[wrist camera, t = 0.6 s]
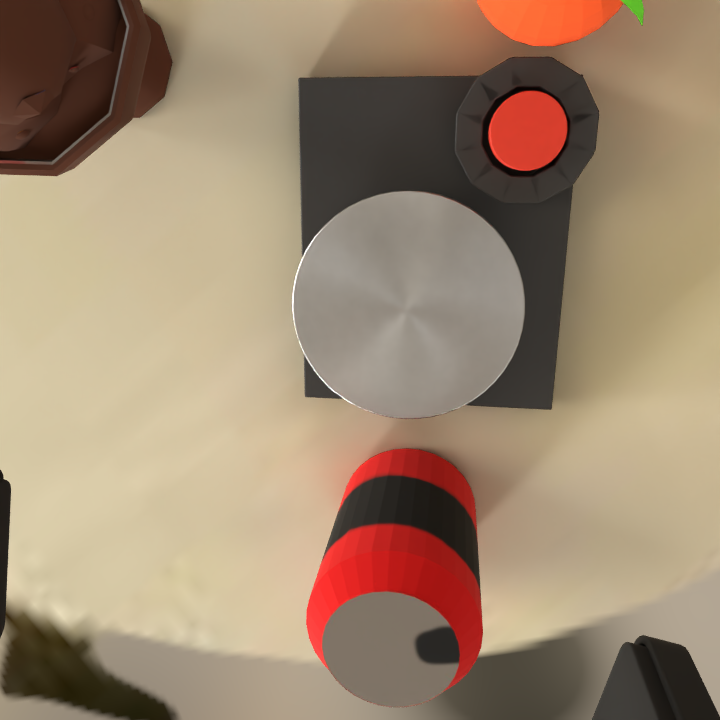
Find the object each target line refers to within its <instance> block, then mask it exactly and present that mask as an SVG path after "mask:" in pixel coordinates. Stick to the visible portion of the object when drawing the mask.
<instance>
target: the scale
mask: <svg viewBox="0 0 720 720" xmlns="http://www.w3.org/2000/svg"><path fill="white" fill-rule="evenodd" d="M298 81H299V131H300V180H301V229H302V257H303V255H304V253H305V251H306V249H307V248H308V246H309V244H310V243H311V241H312V240H313V238H314V237H315V236H316V234H317V233H318V232H319V231H320V230H321V229H322V227H323V226H324V225H325V224H326V223H327V222H329V221H330V220H331V219H332V218H333V217H334V216H335V215H337V214H338V213H340V212H341V211H343V210H344V209H345V208H347V207H348V206H350V205H352V204H354V203H356V202H358V201H360V200H363V199H365V198H368V197H371V196H374V195H377V194H380V193H386V192H391V191H400V190H417V191H427V192H432V193H436V194H441V195H444V196H446V197H449V198H452V199H455V200H457V201H459V202H461V203H463V204H465V205H466V206H468V207H470V208H471V209H473V210H474V211H476V212H477V213H478V214H480V215H481V216H483V217H484V218H485V219H486V220H487V221H488V222H489V223H490V224H491V225H492V226H493V227H494V228H495V229H496V230H497V232H498V233H499V234H500V235H501V237H502V238H503V239H504V241H505V242H506V244H507V246H508V247H509V249H510V251H511V252H512V254H513V256H514V258H515V261H516V263H517V265H518V268H519V271H520V275H521V278H522V282H523V288H524V295H525V317H524V324H523V330H522V333H521V337H520V340H519V344H518V346H517V348H516V351H515V353H514V355H513V357H512V359H511V361H510V362H509V364H508V366H507V367H506V369H505V371H504V372H503V373H502V374H501V375H500V377H499V378H498V379H497V380H496V382H495V383H494V384H493V385H491V386H490V387H489V388H488V389H487V390H486V391H485V392H484V393H483V394H481V395H480V396H478V397H477V398H476V399H474V400H473V401H471V402H469V403H468V404H466V405H470V406H489V407H509V408H528V409H547V410H551V409H552V400H553V389H554V379H555V368H556V358H557V347H558V337H559V326H560V315H561V305H562V294H563V284H564V273H565V263H566V252H567V241H568V231H569V220H570V210H571V199H572V189H573V184H574V183H575V181H576V180H577V178H578V177H579V175H580V174H581V172H582V171H583V169H584V168H585V166H586V165H587V163H588V162H589V160H590V159H591V158H592V156H593V155H594V152H595V149H596V139H597V129H598V120H599V110H598V108H597V106H596V104H595V102H594V99H593V97H592V95H591V93H590V91H589V89H588V86H587V84H586V82H585V80H584V78H583V75H579V74H578V73H576V72H574V71H573V70H571V69H570V68H568V67H567V66H565V65H563V64H562V63H560V62H559V61H557V60H555V59H554V58H552V57H512V58H509V59H507V60H506V61H504V62H502V63H501V64H499V65H497V66H496V67H494V68H492V69H491V70H489V71H488V72H486V73H484V74H483V75H481V76H418V77H326V78H299V79H298ZM524 91H539V92H543V93H546V94H548V95H550V96H551V97H553V98H554V99H555V100H556V101H557V102H558V103H559V104H560V105H561V107H562V109H563V110H564V113H565V115H566V119H567V136H566V140H565V143H564V145H563V147H562V149H561V151H560V152H559V154H558V155H557V156H556V157H555V158H554V159H553V160H552V161H551V162H550V163H548V164H547V165H545V166H543V167H541V168H538V169H535V170H528V171H523V170H516V169H512V168H509V167H507V166H505V165H503V164H502V163H501V162H500V161H499V160H498V159H497V158H496V157H495V156H494V154H493V152H492V150H491V148H490V145H489V140H488V130H489V125H490V121H491V119H492V117H493V115H494V113H495V112H496V110H497V109H498V108H499V106H500V105H501V104H502V103H503V102H504V101H505V100H507V99H508V98H509V97H511V96H513V95H515V94H517V93H520V92H524ZM304 377H305V397H316V398H335V399H343V398H342V397H340V396H339V395H338V394H336V393H335V392H334V391H333V390H332V389H331V388H329V387H328V386H327V385H326V384H325V383H324V382H323V381H322V379H321V378H320V377H319V376H318V375H317V374H316V372H315V371H314V369H313V368H312V367H311V365H310V364H309V362H308V360H307V358H306V356H305V354H304Z"/></svg>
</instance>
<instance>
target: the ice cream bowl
mask: <svg viewBox="0 0 720 720" xmlns="http://www.w3.org/2000/svg"><path fill="white" fill-rule="evenodd" d="M171 66H172V59H171V56H170V53H169V50H168V47H167V45H166V42H165V39H164V36H163V33H162V30H161V27H160V25H159V24H157V23H156V22H155V21H154V20H152V19H151V18H150V17H149V16H147V15H146V14H145V13H144V12H143V9H142V6H141V3H140V0H0V174H8V175H40V176H58V175H60V174H63V173H65V172H67V171H69V170H72V169H74V168H75V167H76V166H78V165H79V164H80V163H81V162H82V161H83V160H85V159H86V158H87V157H88V156H89V155H91V154H92V153H93V152H94V151H95V150H97V149H98V148H99V147H100V146H101V145H102V144H104V143H105V142H106V141H107V140H108V139H110V138H111V137H112V136H113V135H114V134H116V133H117V132H118V131H119V130H120V129H121V128H123V127H124V126H125V125H126V124H127V123H129V122H130V121H131V120H132V118H140V117H141V116H142V115H143V114H145V113H146V112H147V111H148V110H149V109H151V108H152V107H153V106H154V105H155V104H156V103H158V102H159V101H160V100H161V99H162V98H164V96H165V92H166V87H167V83H168V79H169V74H170V70H171Z"/></svg>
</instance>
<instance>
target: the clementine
mask: <svg viewBox="0 0 720 720" xmlns="http://www.w3.org/2000/svg"><path fill="white" fill-rule="evenodd" d="M477 2H478V4H479V6H480V9H481V11H482V12H483V13H484V15H485V16H486V17H487V18H488V20H489V21H490V22H491V23H492V24H493V26H494V27H495V28H496V29H498V30H499V31H500V32H502V33H503V34H505V35H506V36H508V37H509V38H511V39H512V40H515V41H518V42H521V43H524V44H528V45H531V46H557V45H561V44H565V43H569V42H573V41H577V40H579V39H581V38H583V37H585V36H587V35H588V34H590V33H592V32H594V31H596V30H597V29H599V28H600V27H601V26H602V25H604V24H605V23H606V22H607V21H608V20H609V19H610V18H611V17H612V16H613V15H614V14H616V13H617V12H618V10H619V9H620V8H621V6H622V5H623V3H624V4H625V5H626V6H628V7H629V9H630V10H631V11H632V12H633V13H634V14H635V15H636V16H637V17H638V19H639V21H640V23H641V25H643V13H644V9H643V4H642V0H477Z"/></svg>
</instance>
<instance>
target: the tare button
mask: <svg viewBox="0 0 720 720" xmlns="http://www.w3.org/2000/svg"><path fill="white" fill-rule="evenodd" d="M566 136H567V119H566V115H565V113H564V110H563V109H562V107H561V105H560V104H559V103H558V102H557V101H556V100H555V99H554V98H553V97H551V96H550V95H548V94H546V93H543V92H539V91H524V92H520V93H517V94H515V95H513V96H511V97H509V98H508V99H507V100H505V101H504V102H503V103H502V104H501V105H500V106H499V108H498V109H497V110H496V112H495V113H494V115H493V117H492V119H491V121H490V125H489V130H488V140H489V145H490V148H491V150H492V152H493V154H494V156H495V157H496V158H497V159H498V160H499V161H500V162H501V163H502V164H503V165H505V166H507V167H509V168H512V169H516V170H523V171H528V170H535V169H538V168H541V167H543V166H545V165H547V164H548V163H550V162H551V161H552V160H553V159H554V158H555V157H556V156H557V155H558V154H559V152H560V151H561V149H562V147H563V145H564V143H565V140H566Z"/></svg>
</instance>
